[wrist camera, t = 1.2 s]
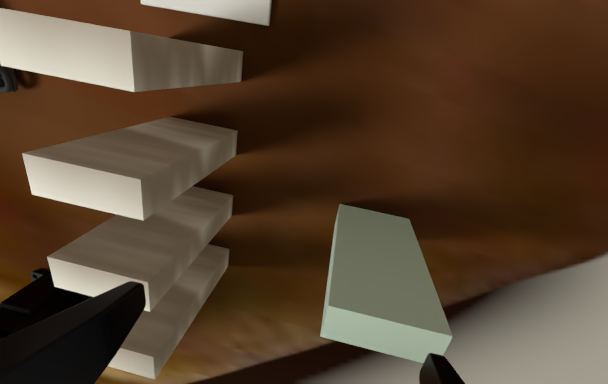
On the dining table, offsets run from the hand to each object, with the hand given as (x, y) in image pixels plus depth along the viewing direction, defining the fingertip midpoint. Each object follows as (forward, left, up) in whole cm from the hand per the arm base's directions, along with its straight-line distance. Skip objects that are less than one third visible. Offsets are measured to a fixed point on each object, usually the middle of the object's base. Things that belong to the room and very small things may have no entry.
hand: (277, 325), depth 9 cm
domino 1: (+7, +9, -13) cm, 17 cm away
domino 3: (-3, +9, -13) cm, 16 cm away
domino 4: (-8, +9, -13) cm, 18 cm away
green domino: (-2, -4, -13) cm, 14 cm away
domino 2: (+1, +9, -13) cm, 16 cm away
